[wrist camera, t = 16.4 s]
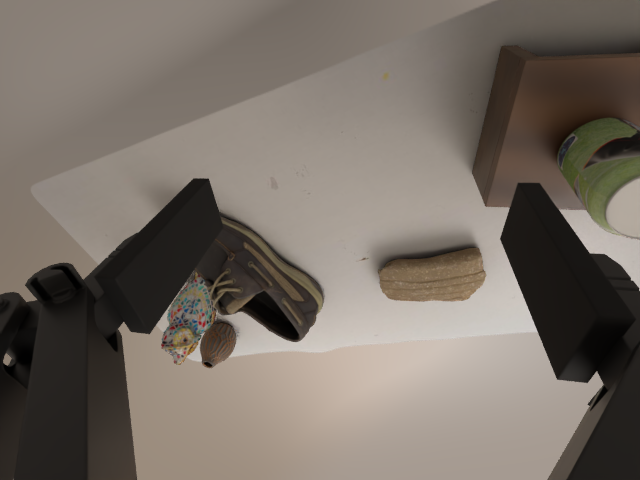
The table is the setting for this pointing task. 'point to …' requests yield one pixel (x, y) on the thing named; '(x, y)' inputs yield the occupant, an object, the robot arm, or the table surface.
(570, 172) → the beverage can
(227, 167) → the table surface
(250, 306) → the boat shoe
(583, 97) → the walnut shelf
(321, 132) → the table surface
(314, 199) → the table surface
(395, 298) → the decorative stone
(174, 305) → the figurine
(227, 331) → the vase
